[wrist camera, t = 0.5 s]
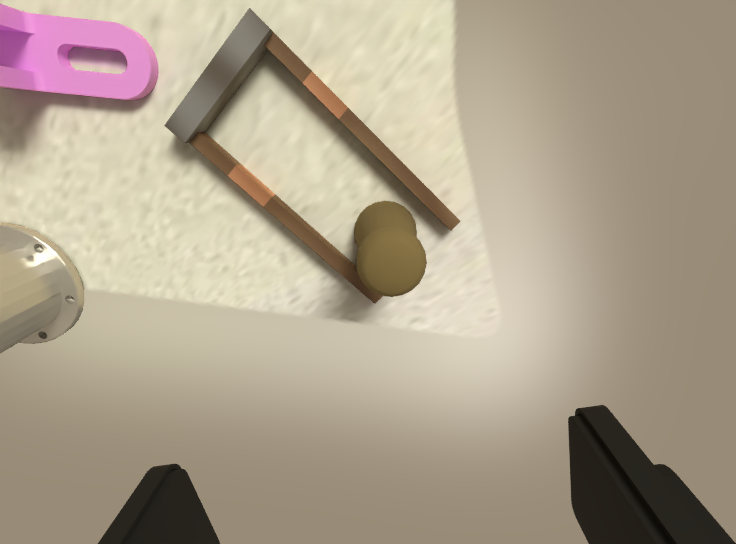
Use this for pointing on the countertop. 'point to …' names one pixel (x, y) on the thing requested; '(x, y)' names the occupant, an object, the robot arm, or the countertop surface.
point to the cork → (388, 249)
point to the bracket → (50, 56)
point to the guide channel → (190, 128)
